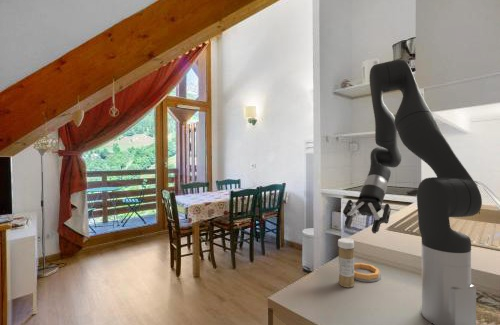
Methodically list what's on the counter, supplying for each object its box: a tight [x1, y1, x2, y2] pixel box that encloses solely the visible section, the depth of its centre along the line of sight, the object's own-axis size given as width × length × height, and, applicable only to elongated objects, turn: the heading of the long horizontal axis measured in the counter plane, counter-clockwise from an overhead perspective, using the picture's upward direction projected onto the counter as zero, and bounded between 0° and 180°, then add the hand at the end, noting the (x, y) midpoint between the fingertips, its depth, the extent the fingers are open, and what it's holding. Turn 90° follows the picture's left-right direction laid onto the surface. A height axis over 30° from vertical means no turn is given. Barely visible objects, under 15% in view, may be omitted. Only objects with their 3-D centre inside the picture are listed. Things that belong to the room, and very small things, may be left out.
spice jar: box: [337, 237, 355, 288], centre depth 79 cm, size 5×5×13 cm
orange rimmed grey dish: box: [354, 262, 382, 283], centre depth 85 cm, size 10×10×2 cm
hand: (359, 229), depth 85 cm, fingers open, 8 cm apart
